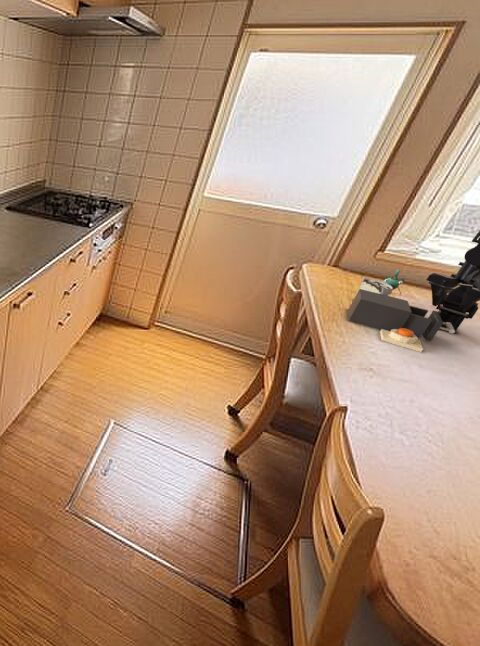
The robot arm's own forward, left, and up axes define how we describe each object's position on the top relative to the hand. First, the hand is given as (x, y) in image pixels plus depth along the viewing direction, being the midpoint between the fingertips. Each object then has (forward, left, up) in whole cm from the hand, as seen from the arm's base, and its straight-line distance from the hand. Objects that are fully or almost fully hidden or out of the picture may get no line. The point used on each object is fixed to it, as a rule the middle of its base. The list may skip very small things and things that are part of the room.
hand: (448, 307), depth 137 cm
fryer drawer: (+3, -6, -13) cm, 14 cm away
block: (+7, +6, -13) cm, 16 cm away
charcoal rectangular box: (+14, -6, -13) cm, 20 cm away
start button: (+7, +6, -11) cm, 14 cm away
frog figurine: (+10, -36, -14) cm, 40 cm away
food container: (+14, -23, -14) cm, 30 cm away
